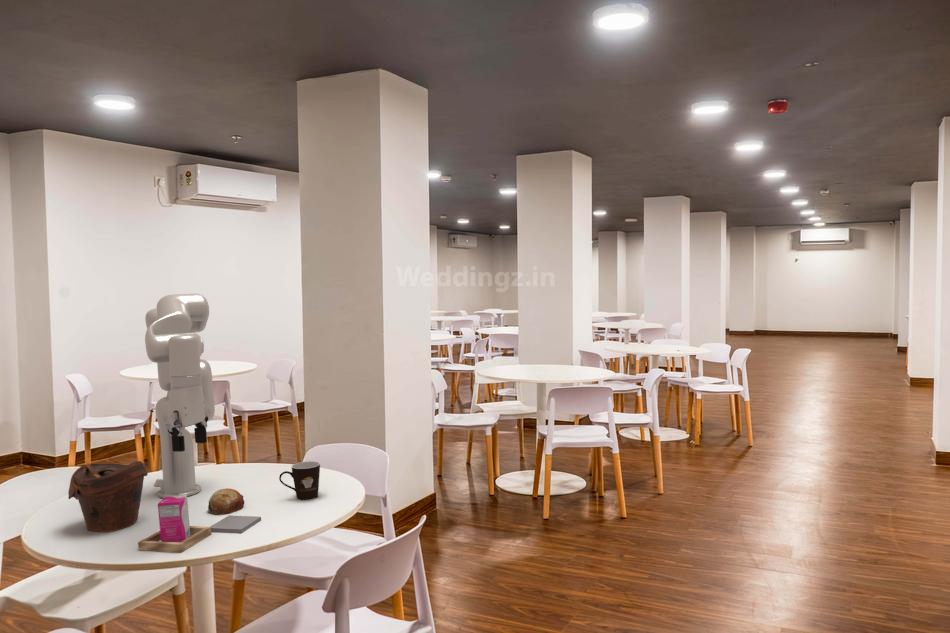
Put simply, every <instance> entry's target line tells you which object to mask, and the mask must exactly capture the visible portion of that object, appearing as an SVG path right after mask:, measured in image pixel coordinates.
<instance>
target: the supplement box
mask: <svg viewBox="0 0 950 633" xmlns="http://www.w3.org/2000/svg"><path fill="white" fill-rule="evenodd" d="M188 505H189V503H188V496H187V495H180V496H168V497H165V498H162V500H160V501H159V502H158V503H157V510H158V521H159V522H158V523H159V531H160V536H161V540H160V542H179V543H180V542H182V541H184V540H185V539H187V538H189V537H190V536H192V535H190V526H191V525H190V516H189V515H190V514H189V506H188Z"/></svg>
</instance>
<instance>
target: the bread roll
mask: <svg viewBox="0 0 950 633" xmlns="http://www.w3.org/2000/svg"><path fill="white" fill-rule="evenodd" d="M244 505H245V499H244V495H242V494H241V493H240V491H238V490H236V489H234V488H221V489H218V490H216V491H215V492H214V493H212V494H211V496H210V498H209V499H208V506H207V508H208V510H207V513H210V514H213V515H219V516H220V515H228V514H232V513H235V512H237V511H241V510H242V509H243V507H244Z"/></svg>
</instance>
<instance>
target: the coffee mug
mask: <svg viewBox="0 0 950 633" xmlns="http://www.w3.org/2000/svg"><path fill="white" fill-rule="evenodd" d="M290 467H291V471H288V470H284V471H282V472H281V473H280V474H279V477H278V479H279V481H280V483H281V484H282V485H284V486H285V487H287V488H289V489H291V490H293V491H294V492H295V495H296V499H297V500H299V501H310V500H314V499H317V498H318V497H319V489H320V488H319V487H320V485H319V484H320V471H321V463H320V462H318V461H315V460H313V461H311V460H310V461H301V462H296V463H293V464H292V465H291V466H290ZM284 474H288V475H289V476H291V478H292V479H293V484H294V487H293V486H291V485H289V484H286V483H285V482H284V481H283V480H282V476H283V475H284Z"/></svg>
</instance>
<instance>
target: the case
mask: <svg viewBox="0 0 950 633" xmlns="http://www.w3.org/2000/svg"><path fill="white" fill-rule="evenodd" d="M148 474H149V473H148V471H147V468H146V467H145V464H144V462H142V461H140V460H138V461H135V462H131V463H129V464H122V463H121V464H120V463H111V462H110V463H109V462H108V463H107V462H106V463H105V462H104V463H103V462H95V463H86V464H85V465H82V466H80V467H79V468H77V469H76V470H75V471H74V473H73V474H72V475H71V477H70V482H69V488H68V499H69V500H71V499H72V498H74V499H75V500H78V503H79V506H80V509H81V513H82V516H83V519H84V523H85V526H86V528H87V530H89V531H92V532H113V531H118V530H122V529H125V528H128V527H131V526H133V525H134V524H136V523H137V521H138V519H139V512H140V506H141V500H142V494H143V488H144V487H143V486H144V480H145V477H147V476H148Z"/></svg>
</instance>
